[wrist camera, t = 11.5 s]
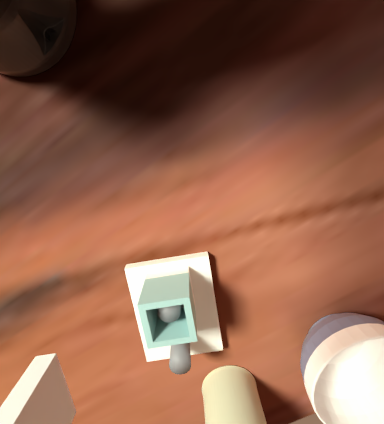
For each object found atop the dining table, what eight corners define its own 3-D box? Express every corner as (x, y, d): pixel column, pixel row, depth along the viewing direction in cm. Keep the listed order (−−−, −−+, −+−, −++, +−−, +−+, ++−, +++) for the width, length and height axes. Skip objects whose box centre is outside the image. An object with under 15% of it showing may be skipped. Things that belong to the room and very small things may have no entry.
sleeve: (146, 272, 39) (137, 305, 31) (188, 265, 39) (189, 297, 31) (154, 309, 40) (147, 348, 33) (195, 302, 40) (197, 341, 32)
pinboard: (126, 264, 40) (113, 291, 33) (207, 251, 40) (212, 275, 33) (148, 354, 44) (141, 396, 37) (222, 343, 44) (229, 383, 37)
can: (222, 417, 48) (234, 506, 36) (190, 384, 46) (192, 466, 34) (266, 390, 47) (293, 474, 35) (235, 355, 45) (253, 430, 33)
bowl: (328, 393, 47) (364, 455, 38) (264, 341, 44) (286, 395, 35) (403, 333, 44) (461, 384, 35) (340, 274, 41) (385, 312, 32)
